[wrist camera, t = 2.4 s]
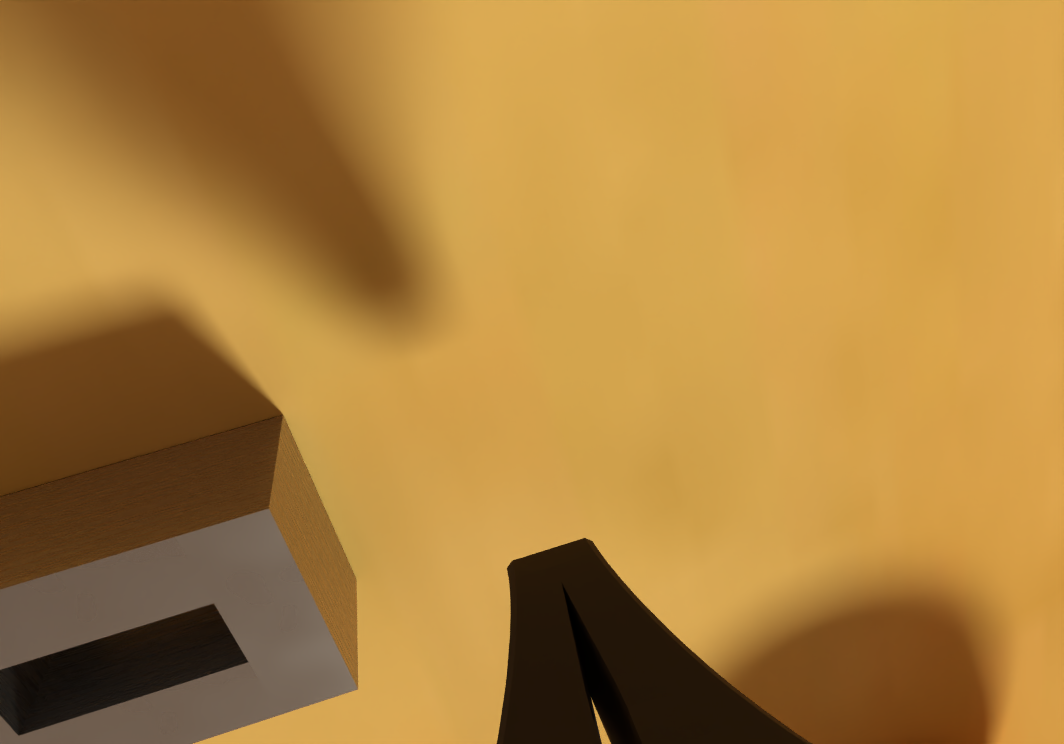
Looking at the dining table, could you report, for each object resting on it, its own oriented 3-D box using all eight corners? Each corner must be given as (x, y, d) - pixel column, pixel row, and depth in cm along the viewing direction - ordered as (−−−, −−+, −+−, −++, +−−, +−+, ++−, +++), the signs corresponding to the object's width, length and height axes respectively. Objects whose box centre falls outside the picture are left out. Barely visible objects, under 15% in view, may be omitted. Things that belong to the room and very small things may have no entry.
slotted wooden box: (39, 679, 16) (-22, 813, 13) (-89, 522, 14) (-192, 646, 11) (356, 579, 17) (358, 689, 14) (282, 415, 14) (268, 509, 12)
